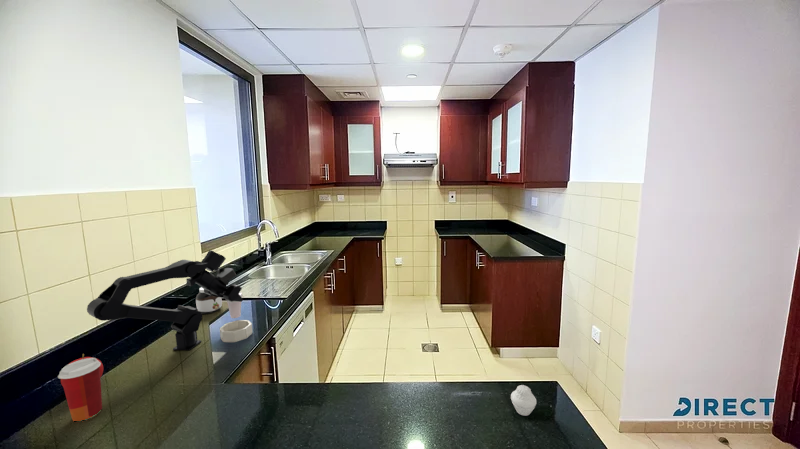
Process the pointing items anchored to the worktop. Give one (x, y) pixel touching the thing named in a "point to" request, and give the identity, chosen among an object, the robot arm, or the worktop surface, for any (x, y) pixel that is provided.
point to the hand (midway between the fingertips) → (237, 299)
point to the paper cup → (82, 388)
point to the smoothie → (235, 308)
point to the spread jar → (207, 302)
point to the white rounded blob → (523, 400)
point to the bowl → (236, 331)
